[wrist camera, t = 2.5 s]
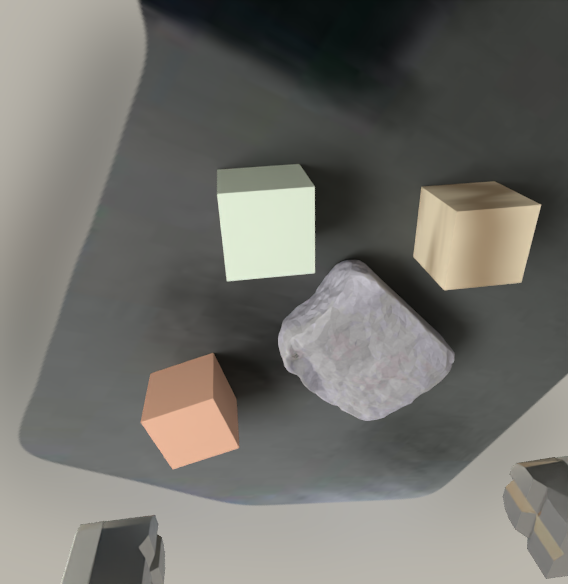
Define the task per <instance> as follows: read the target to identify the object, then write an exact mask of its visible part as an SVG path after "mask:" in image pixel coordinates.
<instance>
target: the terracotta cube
mask: <svg viewBox="0 0 568 584" xmlns="http://www.w3.org/2000/svg"><path fill="white" fill-rule="evenodd" d="M141 423H142V425H143V426H144V428H145V429H146V431H147V432H148V434H149V435H150V437H151V438H152V440H153V441H154V442H155V444H156V445H157V447H158V448H159V450H160V451H161V453H162V454H163V456H164V457H165V459H166V460H167V462H168V463H169V465H170V466H171V468H172V469H175V468H178V467H181V466H185V465H188V464H191V463H194V462H197V461H200V460H203V459H206V458H209V457H212V456H216V455H219V454H222V453H225V452H228V451H231V450H234V449H237V448H239V433H238V415H237V399H236V397H235V395H234V393H233V391H232V389H231V387H230V385H229V383H228V381H227V379H226V377H225V375H224V373H223V371H222V369H221V367H220V365H219V363H218V361H217V359H216V357H215V355H214V353H211V354H208V355H205V356H202V357H199V358H196V359H193V360H190V361H187V362H184V363H181V364H178V365H175V366H172V367H169V368H166V369H163V370H160V371H157V372H154V373H151V374H150V378H149V383H148V388H147V393H146V398H145V403H144V408H143V413H142V418H141Z"/></svg>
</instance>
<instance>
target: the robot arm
mask: <svg viewBox="0 0 568 584" xmlns="http://www.w3.org/2000/svg"><path fill="white" fill-rule="evenodd" d="M510 476H511V477H512V479H513V481H511V482H510V483H509V484H508V485H507V486H506V487H505V491H504V494H503V500H504V507H505V510H506V513H507V515H508V518H509V520H510V521H511V523H512V525H513V526H514V528H515V529H516V530H517V531H518V532H520V533H521V534H523V535H524V536H526V537H527V538H528V540H527V549H528V551H529V552H530V554H531V556H532V557H533V559H534V560H535V562H536V564H537V565H538V567H539V568H540V570H541V572H542V573H543V575H544V576H545V578H546V579H547V578H555V577H563V576H568V456H564V457H557V458H555V457H553V458H546V459H540V460H534V461H528V462H521V463H516V464H515V465H513V466H512V468H511V471H510ZM157 530H158V522H157V520H156V516H155V515H152V516H143V517H135V518H128V519H120V520H112V521H103V522H96V523H88V524H81V525H80V527H79V528H78V530H77V532H76V534H75V537H74V540H73V544H72V547H71V551H70V554H69V557H68V561H67V565H66V568H65V571H64V575H63V578H62V582H61V584H164V574H165V551H164V544H163V541H162V537H161V536H159V535H157Z"/></svg>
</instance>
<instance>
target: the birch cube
mask: <svg viewBox="0 0 568 584" xmlns="http://www.w3.org/2000/svg"><path fill="white" fill-rule="evenodd" d="M540 208H541V204H539V203H537V202H535V201H533V200H531V199H529V198H527V197H525V196H523V195H521V194H519V193H517V192H515V191H513V190H511V189H509V188H507V187H505V186H503V185H501V184H499V183H497V182H495V181H491V182H477V183H464V184H451V185H438V186H425V187H421V196H420V204H419V213H418V221H417V230H416V238H415V247H414V256H413V257H414V258H415V259H416V260H417V261H418V262H419V263H420V264H421V266H422V267H423V268H424V269H425V270H426V271H427V272H428V273H429V274H430V275H431V276H432V278H433V279H434V280H435V281H436V282H437V283H438V284H439V285H440V286H441V287H442V288H443V290H452V289H462V288H472V287H482V286H492V285H502V284H512V283H521V282H522V278H523V274H524V270H525V266H526V262H527V258H528V254H529V251H530V247H531V243H532V239H533V235H534V231H535V227H536V223H537V219H538V216H539V212H540Z"/></svg>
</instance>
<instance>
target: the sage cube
mask: <svg viewBox="0 0 568 584" xmlns="http://www.w3.org/2000/svg"><path fill="white" fill-rule="evenodd" d="M217 197H218V206H219V215H220V224H221V233H222V242H223V251H224V259H225V268H226V277H227V281H235V280H246V279H257V278H268V277H278V276H289V275H300V274H311V273H315V186H314V185H313V183H312V182H311V180H310V179H309V177H308V176H307V174H306V173H305V172H304V170H303V169H302V167H301V166H300V164H292V165H277V166H263V167H248V168H234V169H219V170H217Z"/></svg>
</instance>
